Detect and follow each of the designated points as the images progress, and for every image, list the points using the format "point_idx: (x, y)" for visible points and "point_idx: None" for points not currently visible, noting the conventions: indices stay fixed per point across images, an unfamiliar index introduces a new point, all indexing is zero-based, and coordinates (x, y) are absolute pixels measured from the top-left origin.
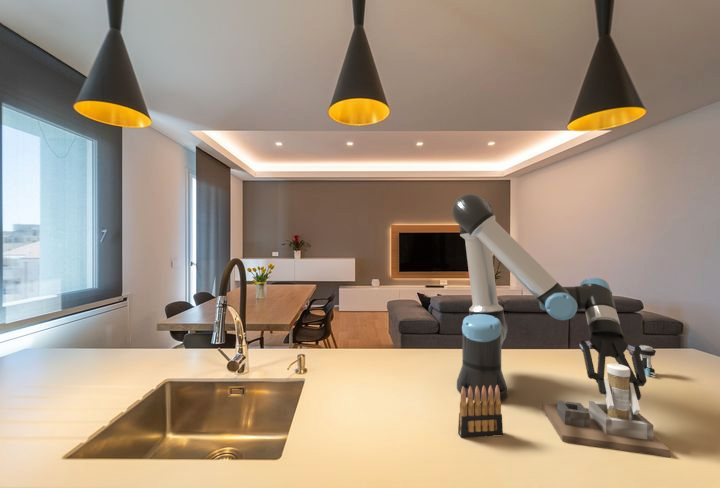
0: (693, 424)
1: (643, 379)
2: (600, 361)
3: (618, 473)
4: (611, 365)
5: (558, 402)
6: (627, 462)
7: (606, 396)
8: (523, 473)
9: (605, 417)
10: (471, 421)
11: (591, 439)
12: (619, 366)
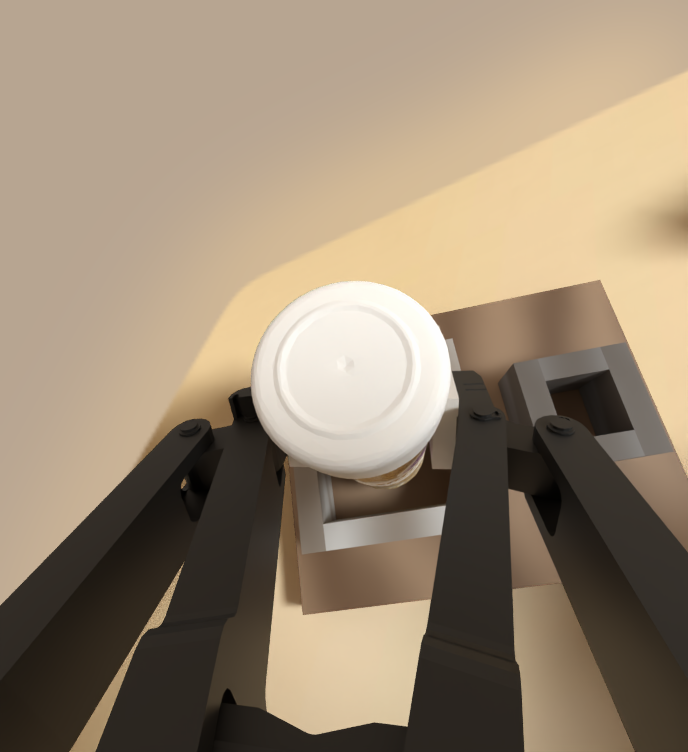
0: None
1: (189, 424)
2: (496, 535)
3: (446, 212)
4: (411, 348)
5: (664, 436)
6: (410, 271)
7: None
8: (681, 100)
9: (451, 354)
10: None
11: (501, 301)
12: (334, 361)
